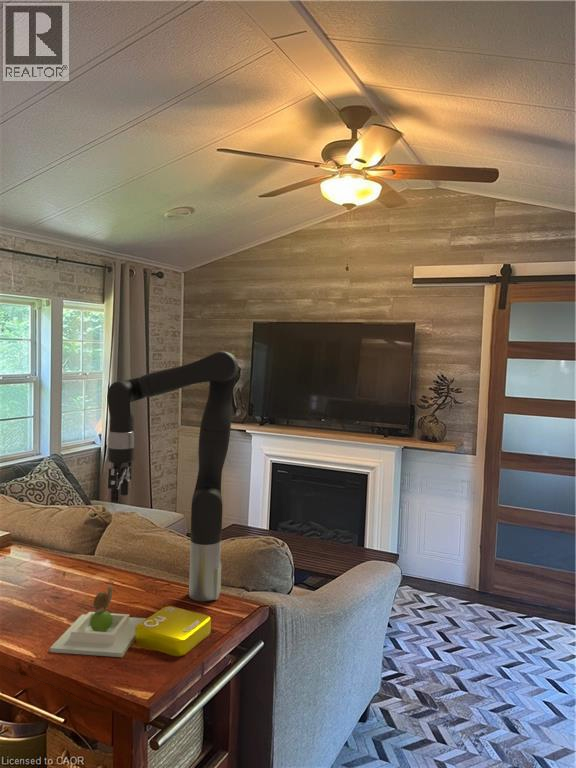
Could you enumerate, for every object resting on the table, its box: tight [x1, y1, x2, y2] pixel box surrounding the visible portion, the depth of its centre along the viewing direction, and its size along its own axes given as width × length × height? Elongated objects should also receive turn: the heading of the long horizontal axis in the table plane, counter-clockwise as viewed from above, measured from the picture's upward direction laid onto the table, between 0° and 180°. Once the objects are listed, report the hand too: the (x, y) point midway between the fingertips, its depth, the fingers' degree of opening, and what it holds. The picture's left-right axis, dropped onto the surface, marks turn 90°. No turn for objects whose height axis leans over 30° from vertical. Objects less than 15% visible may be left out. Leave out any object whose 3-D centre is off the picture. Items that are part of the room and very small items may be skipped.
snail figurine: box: [90, 580, 114, 632], centre depth 142 cm, size 5×6×12 cm
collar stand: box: [49, 611, 147, 658], centre depth 141 cm, size 18×18×4 cm
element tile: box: [134, 605, 212, 657], centre depth 142 cm, size 15×15×5 cm
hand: (119, 498), depth 168 cm, fingers open, 8 cm apart
